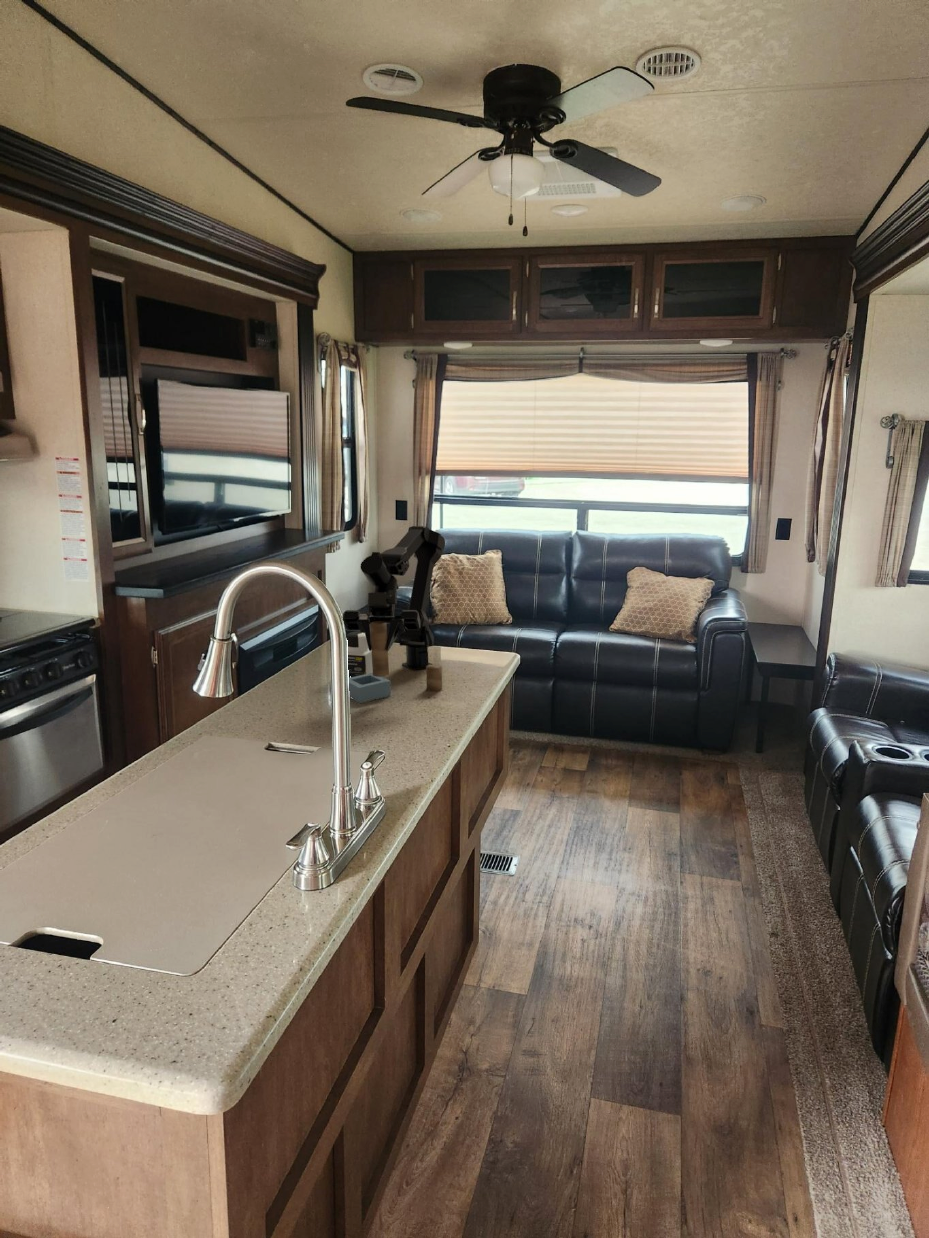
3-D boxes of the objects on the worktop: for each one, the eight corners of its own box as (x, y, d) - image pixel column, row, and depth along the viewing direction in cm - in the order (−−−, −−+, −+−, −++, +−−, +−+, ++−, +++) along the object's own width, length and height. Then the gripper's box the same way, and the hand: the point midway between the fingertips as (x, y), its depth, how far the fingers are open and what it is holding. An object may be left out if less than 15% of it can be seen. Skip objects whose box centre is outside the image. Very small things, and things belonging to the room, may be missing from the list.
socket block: (343, 694, 212) (342, 679, 211) (373, 687, 217) (372, 672, 216) (360, 703, 205) (359, 687, 204) (390, 695, 210) (390, 680, 209)
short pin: (423, 688, 215) (422, 666, 213) (436, 685, 217) (435, 663, 216) (432, 692, 212) (431, 669, 210) (445, 689, 214) (444, 666, 213)
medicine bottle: (342, 678, 225) (339, 635, 222) (352, 670, 232) (350, 629, 229) (366, 680, 223) (364, 636, 220) (376, 672, 230) (374, 630, 227)
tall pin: (369, 674, 206) (366, 623, 203) (383, 670, 208) (380, 620, 205) (378, 677, 203) (375, 626, 199) (392, 674, 205) (389, 623, 202)
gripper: (341, 578, 204) (333, 633, 196) (417, 578, 203) (412, 633, 195) (350, 602, 214) (343, 656, 206) (422, 602, 212) (418, 656, 204)
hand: (378, 650), depth 202 cm, fingers closed on tall pin, 4 cm apart
